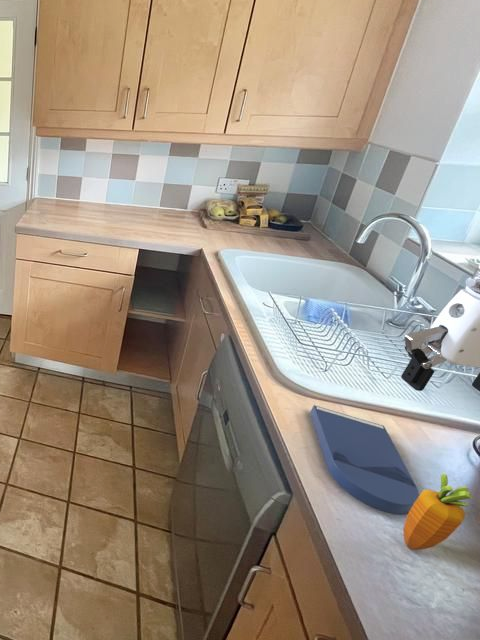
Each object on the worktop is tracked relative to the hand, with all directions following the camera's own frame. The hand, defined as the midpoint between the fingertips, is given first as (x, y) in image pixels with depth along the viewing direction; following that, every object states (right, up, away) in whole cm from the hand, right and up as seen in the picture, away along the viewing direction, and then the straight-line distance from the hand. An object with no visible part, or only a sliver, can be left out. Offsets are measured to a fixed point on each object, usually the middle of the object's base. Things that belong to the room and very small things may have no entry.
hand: (446, 388), depth 62 cm
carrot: (-2, -27, +4) cm, 27 cm away
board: (+4, -20, +18) cm, 28 cm away
